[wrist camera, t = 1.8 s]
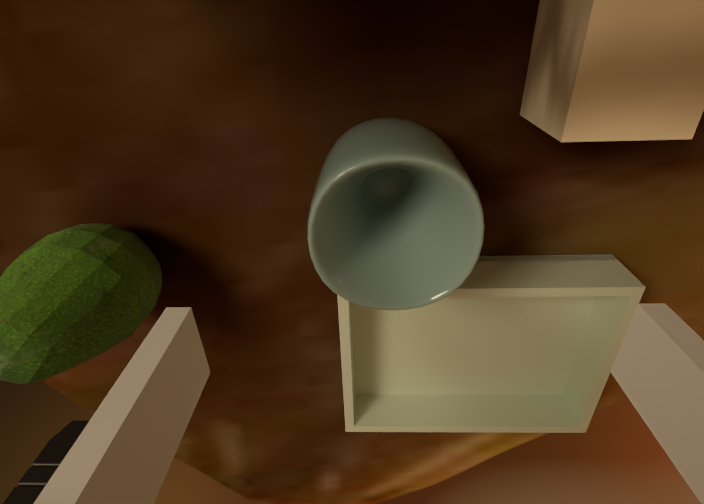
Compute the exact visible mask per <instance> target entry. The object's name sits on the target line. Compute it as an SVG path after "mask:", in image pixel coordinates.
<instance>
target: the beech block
mask: <svg viewBox="0 0 704 504" xmlns="http://www.w3.org/2000/svg"><path fill="white" fill-rule="evenodd" d="M703 111H704V0H540V1H539V7H538V13H537V19H536V24H535V30H534V36H533V42H532V47H531V53H530V59H529V65H528V70H527V76H526V82H525V88H524V93H523V99H522V105H521V111H520V116H522V117H524V118H525V119H527V120H528V121H530V122H531V123H533V124H534V125H536V126H537V127H539V128H540V129H542V130H543V131H545V132H546V133H548V134H549V135H551V136H552V137H554V138H555V139H557V140H558V141H560V142H595V141H639V140H683V139H692V138H693V136H694V133H695V131H696V128H697V126H698V123H699V121H700V118H701V116H702V113H703Z"/></svg>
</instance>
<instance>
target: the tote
mask: <svg viewBox="0 0 704 504" xmlns="http://www.w3.org/2000/svg"><path fill="white" fill-rule="evenodd" d="M645 288H646V287H645V286H644V285H643V284H642V283H641V282H640V281H639V280H638V279H637V278H636V277H635V276H634V275H633V274H632V273H631V272H630V271H629V270H628V269H627V268H626V267H625V266H624V265H623V264H622V263H621V262H620V261H618V260H617V259H616V258H615V257H614V256H613V255H612V254H596V255H516V256H479V258H478V260H477V262H476V264H475V266H474V268H473V270H472V272H471V273H470V275H469V276H468V277H467V278H466V280H465V281H464V282H463V284H462V285H461V286H459V287H458V288H457V289H456V290H455V291H454V292H452V293H451V294H450V295H448V296H446V297H445V298H443V299H441V300H439V301H437V302H435V303H432V304H429V305H426V306H423V307H419V308H413V309H408V310H380V309H373V308H368V307H364V306H360V305H357V304H355V303H352V302H350V301H347V300H345V299H344V298H342V297H340V296H339V295H337V297H338V313H339V330H340V346H341V362H342V379H343V395H344V412H345V428H346V432H538V433H557V432H558V433H566V432H567V433H568V432H569V433H585V432H586V430H587V428H588V426H589V423H590V421H591V418H592V416H593V413H594V411H595V409H596V406H597V404H598V401H599V399H600V396H601V394H602V392H603V389H604V387H605V384H606V382H607V380H608V377H609V375H610V371H611V368H612V366H613V363H614V361H615V358H616V356H617V354H618V351H619V349H620V346H621V344H622V341H623V339H624V336H625V334H626V331H627V329H628V327H629V324H630V322H631V319H632V317H633V314H634V312H635V309H636V307H637V304H639V302H640V300H641V297H642V295H643V292H644V290H645Z"/></svg>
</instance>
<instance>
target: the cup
mask: <svg viewBox="0 0 704 504" xmlns="http://www.w3.org/2000/svg"><path fill="white" fill-rule="evenodd" d="M484 228H485V225H484V215H483V207H482V204H481V201H480V198H479V195H478V192H477V190H476V187H475V186H474V184H473V182H472V180H471V179H470V177H469V176H468V174H467V172H466V171H465V169H464V168H463V166H462V165H461V163H460V162H459V160H458V159H457V157H456V156H455V154H454V153H453V151H452V150H451V148H450V147H449V146H448V145H447V144H446V142H445V141H443V140H442V139H441V138H440V137H439V136H438V135H437V134H435V133H434V132H433V131H432V130H431V129H429V128H427V127H425V126H423V125H421V124H419V123H417V122H414V121H411V120H407V119H403V118H393V117H385V118H375V119H371V120H368V121H364V122H362V123H360V124H358V125H355V126H353V127H351V128H350V129H349V130H348V131H346V132H345V133H344V134H342V135H341V136H340V137H339V139H338V140H337V141H336V143H335V144H334V145H333V146H332V148H331V149H330V151H329V153H328V155H327V157H326V159H325V162H324V164H323V166H322V168H321V171H320V174H319V177H318V180H317V183H316V187H315V190H314V194H313V198H312V202H311V207H310V211H309V216H308V232H307V238H308V244H309V251H310V256H311V259H312V261H313V264H314V267H315V269H316V271H317V273H318V274H319V276H320V278H321V279H322V281H323V282H324V283H325V284H326V285H327V286H328V287H329V288H330V289H331V290H332V291H333V292H334V293H336V294H337V295H339V296H340V297H342V298H344V299H345V300H347V301H350V302H352V303H355V304H357V305H360V306H364V307H368V308H373V309H380V310H408V309H413V308H419V307H423V306H426V305H429V304H432V303H435V302H437V301H439V300H441V299H443V298H445V297H446V296H448V295H450V294H451V293H452V292H454V291H455V290H456V289H457V288H458V287H459V286H461V285H462V284H463V282H464V281H465V280H466V278H467V277H468V276H469V275H470V273H471V272H472V270H473V268H474V266H475V264H476V262H477V260H478V258H479V255H480V252H481V248H482V245H483V239H484Z"/></svg>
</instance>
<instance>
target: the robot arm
mask: <svg viewBox="0 0 704 504" xmlns="http://www.w3.org/2000/svg"><path fill="white" fill-rule="evenodd" d="M610 372H611V374H612V375H613V377H614V378H615V379H616V381H617V382H618V384H619V385H620V387H621V388H622V390H623V391H624V393H625V394H626V395H627V397H628V398H629V400H630V401H631V403H632V404H633V406H634V407H635V409H636V410H637V411H638V413H639V414H640V416H641V417H642V419H643V420H644V422H645V423H646V424H647V426H648V427H649V429H650V430H651V432H652V433H653V435H654V436H655V438H656V439H657V440H658V442H659V443H660V445H661V446H662V448H663V449H664V451H665V452H666V454H667V455H668V456H669V458H670V459H671V461H672V462H673V464H674V465H675V467H676V468H677V470H678V471H679V472H680V474H681V475H682V477H683V478H684V479H685V481H686V483H687V484H688V485H689V487H690V488H691V490H692V491H693V493H694V494H695V495H696V497H697V498H698V500H699V501H700V503H701V504H704V340H703V339H702V338H701V337H700V336H699V335H698V334H697V333H695V332H694V331H693V330H692V329H691V328H690V327H689V326H688V325H687V324H686V323H685V322H684V321H683V320H682V319H681V318H680V317H679V316H678V315H677V314H676V313H675V312H674V311H673V310H671V309H670V308H669V307H668V306H667V305H666V304H665V303H651V304H637V307H636V309H635V312H634V314H633V317H632V319H631V322H630V324H629V327H628V329H627V331H626V334H625V336H624V339H623V341H622V344H621V346H620V349H619V351H618V354H617V356H616V358H615V361H614V363H613V366H612V368H611V371H610ZM209 374H210V370H209V366H208V363H207V360H206V356H205V353H204V349H203V346H202V342H201V339H200V336H199V332H198V329H197V325H196V322H195V318H194V315H193V311H192V308H191V307H166V309H165V310H164V312H163V313H162V315H161V316H160V318H159V319H158V320H157V322H156V323H155V325H154V326H153V328H152V329H151V331H150V332H149V334H148V335H147V337H146V338H145V340H144V341H143V343H142V344H141V346H140V347H139V349H138V350H137V351H136V353H135V354H134V356H133V357H132V359H131V360H130V362H129V363H128V365H127V366H126V368H125V369H124V371H123V372H122V374H121V375H120V377H119V378H118V379H117V381H116V382H115V384H114V385H113V387H112V388H111V390H110V391H109V393H108V394H107V396H106V397H105V399H104V400H103V402H102V403H101V405H100V406H99V408H98V409H97V410H96V412H95V413H94V415H93V416H92V418H91V419H90V421H72V422H70V423H69V424H68V425H67V426H66V427H65V428H63V429H62V430H61V431H60V432H59V433H58V434H56V435H55V436H54V437H53V438H52V439H51V440H50V441H49V442H48V443H47V445H46V446H45V447H44V449H43V450H42V451H41V453H40V454H39V455H38V457H37V458H36V460H35V461H34V462H33V466H32V467H30V468H29V469H28V470H27V472H26V473H25V474H24V476H23V477H22V478H21V480H20V481H19V485H18V486H17V487H15V488H14V489H13V491H12V492H11V493H10V495H9V496H8V497H7V499H6V500H5V501H4V503H3V504H154V502H155V499H156V497H157V495H158V492H159V490H160V488H161V485H162V483H163V480H164V478H165V476H166V473H167V471H168V469H169V467H170V464H171V462H172V460H173V457H174V455H175V453H176V451H177V448H178V446H179V444H180V441H181V439H182V437H183V434H184V432H185V430H186V427H187V425H188V423H189V420H190V418H191V416H192V413H193V411H194V409H195V407H196V404H197V402H198V400H199V397H200V395H201V393H202V390H203V388H204V386H205V383H206V381H207V379H208V376H209Z"/></svg>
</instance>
